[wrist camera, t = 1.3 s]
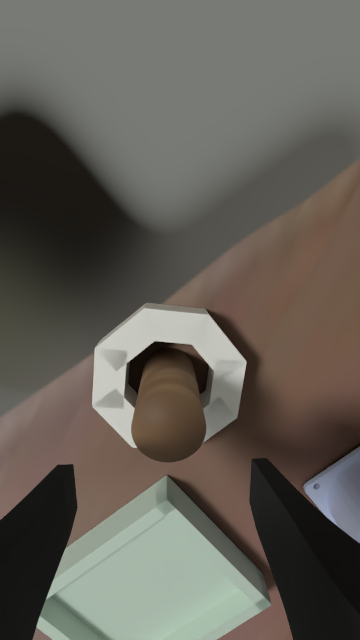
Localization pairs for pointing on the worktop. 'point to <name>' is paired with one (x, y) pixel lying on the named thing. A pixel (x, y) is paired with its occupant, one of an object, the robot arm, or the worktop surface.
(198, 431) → the dowel pin
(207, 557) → the tray
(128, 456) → the worktop surface
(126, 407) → the white octagonal ring
